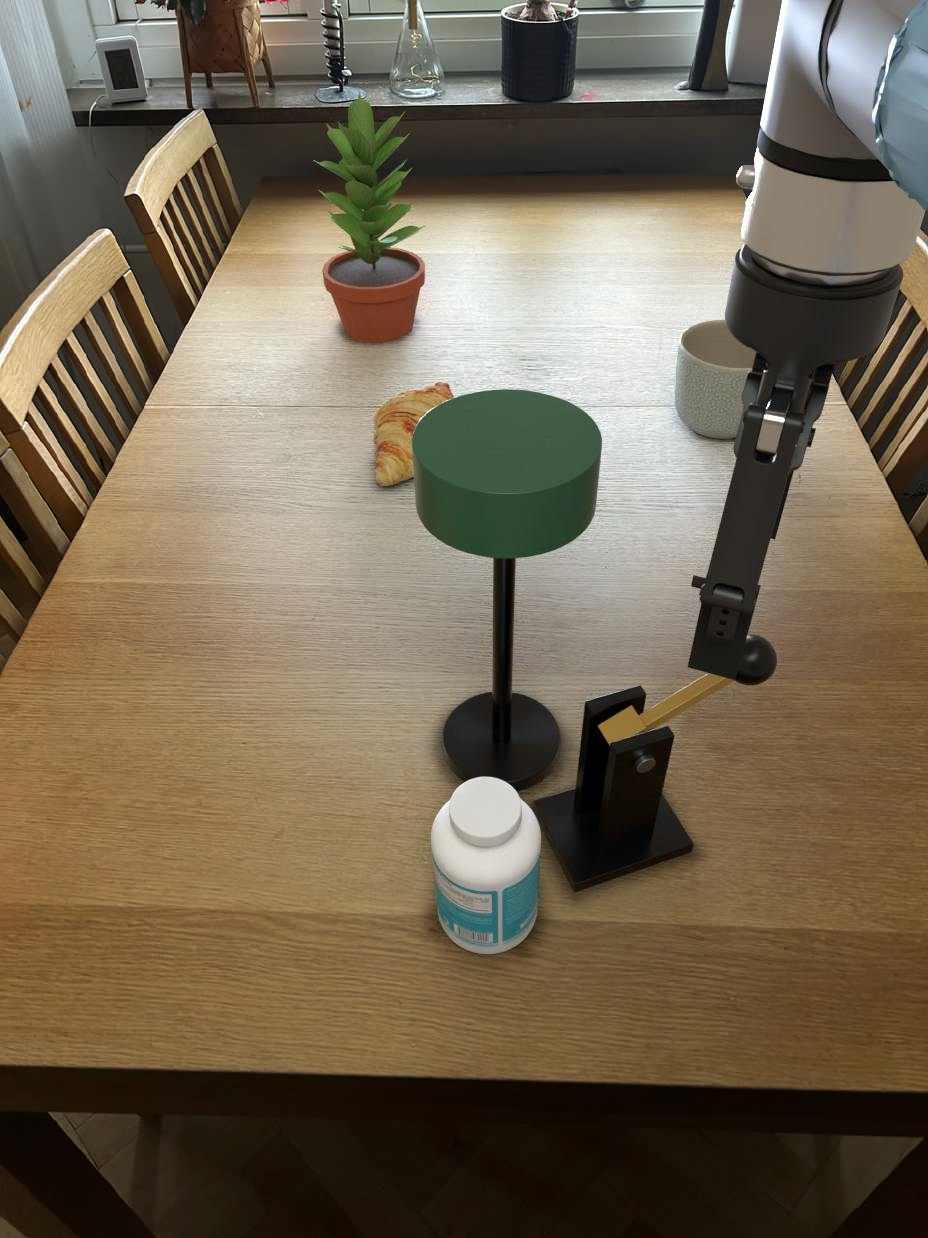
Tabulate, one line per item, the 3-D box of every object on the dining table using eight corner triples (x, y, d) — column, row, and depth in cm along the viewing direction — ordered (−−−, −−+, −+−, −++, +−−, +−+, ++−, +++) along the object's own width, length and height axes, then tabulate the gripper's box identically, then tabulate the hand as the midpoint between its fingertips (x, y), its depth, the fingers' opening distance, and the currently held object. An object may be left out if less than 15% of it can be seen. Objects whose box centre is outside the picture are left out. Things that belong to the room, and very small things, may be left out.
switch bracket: (643, 774, 78) (665, 660, 68) (691, 852, 72) (723, 740, 63) (532, 809, 75) (539, 696, 66) (574, 893, 70) (588, 782, 60)
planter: (777, 451, 112) (799, 369, 104) (674, 451, 112) (688, 369, 104) (756, 397, 121) (774, 318, 113) (660, 398, 121) (672, 319, 113)
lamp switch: (762, 642, 67) (753, 615, 64) (791, 677, 64) (783, 649, 62) (605, 737, 68) (590, 714, 65) (628, 774, 66) (613, 752, 63)
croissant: (408, 522, 108) (436, 478, 102) (333, 477, 107) (357, 429, 101) (463, 424, 122) (490, 381, 117) (398, 383, 121) (422, 337, 115)
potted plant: (350, 360, 130) (325, 126, 109) (316, 315, 140) (287, 94, 119) (447, 337, 134) (441, 108, 113) (408, 296, 144) (395, 79, 123)
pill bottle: (519, 856, 72) (523, 748, 63) (551, 943, 67) (561, 838, 58) (425, 881, 71) (416, 773, 61) (451, 971, 66) (445, 868, 56)
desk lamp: (594, 778, 77) (636, 468, 56) (459, 821, 75) (447, 511, 53) (538, 679, 86) (555, 375, 64) (413, 714, 83) (388, 408, 61)
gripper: (781, 159, 52) (716, 474, 67) (676, 360, 36) (620, 721, 50) (923, 174, 50) (824, 496, 64) (882, 397, 33) (762, 763, 48)
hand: (735, 595), depth 57 cm, fingers open, 13 cm apart
